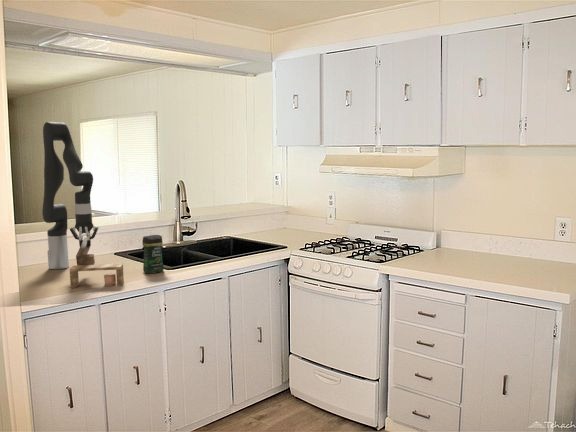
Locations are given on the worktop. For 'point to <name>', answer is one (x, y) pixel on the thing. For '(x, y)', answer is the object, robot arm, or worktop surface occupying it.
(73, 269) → the shelf
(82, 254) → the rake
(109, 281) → the reddish brown block
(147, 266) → the coffee jar
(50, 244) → the robot arm
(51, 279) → the worktop surface
